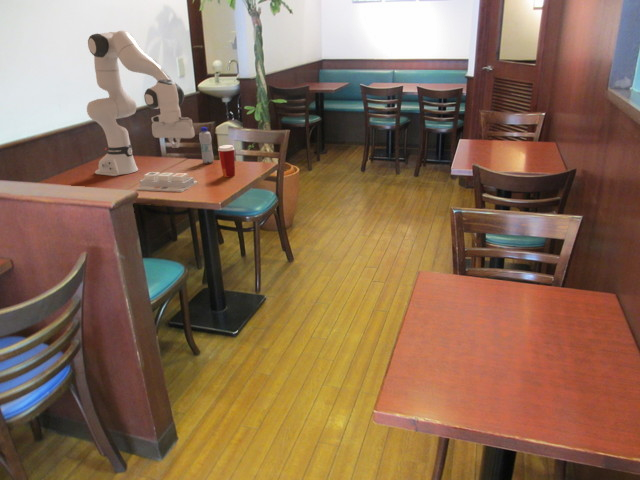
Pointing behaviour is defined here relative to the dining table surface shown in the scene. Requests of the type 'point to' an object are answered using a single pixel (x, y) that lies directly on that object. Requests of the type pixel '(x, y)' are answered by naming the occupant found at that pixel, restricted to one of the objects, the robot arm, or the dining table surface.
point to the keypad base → (166, 185)
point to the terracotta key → (180, 177)
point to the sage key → (165, 177)
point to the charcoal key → (151, 176)
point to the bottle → (206, 145)
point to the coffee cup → (227, 160)
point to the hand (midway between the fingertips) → (175, 147)
